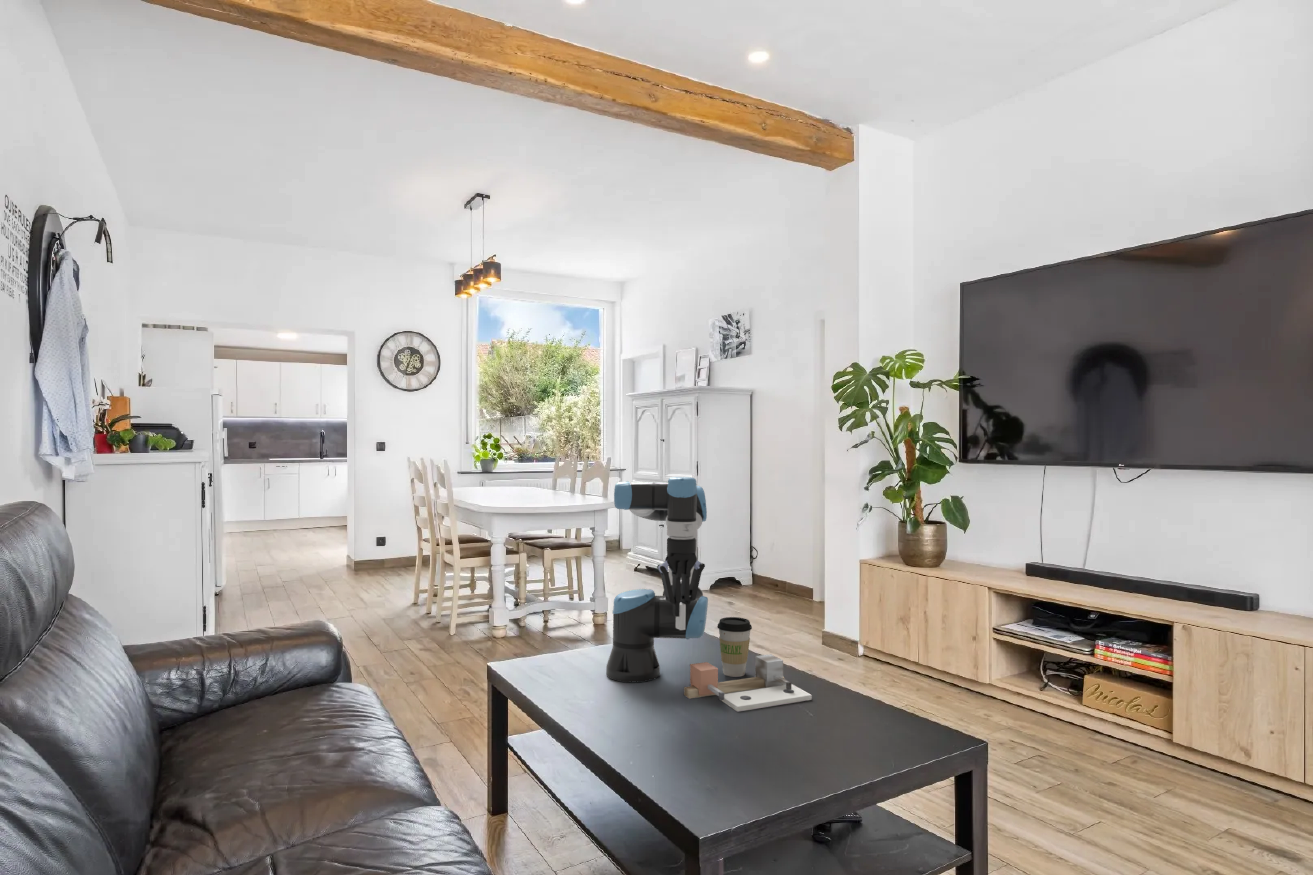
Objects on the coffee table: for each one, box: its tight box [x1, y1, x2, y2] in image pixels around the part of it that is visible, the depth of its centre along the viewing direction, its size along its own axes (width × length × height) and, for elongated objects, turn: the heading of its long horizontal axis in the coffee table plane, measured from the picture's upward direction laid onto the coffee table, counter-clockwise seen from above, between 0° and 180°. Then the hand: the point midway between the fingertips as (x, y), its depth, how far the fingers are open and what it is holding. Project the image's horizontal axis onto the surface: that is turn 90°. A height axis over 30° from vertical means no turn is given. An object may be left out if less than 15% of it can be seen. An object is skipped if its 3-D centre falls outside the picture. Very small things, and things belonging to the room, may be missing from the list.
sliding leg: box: [689, 661, 725, 701], centre depth 192 cm, size 13×5×6 cm, turn 24°
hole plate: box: [720, 684, 813, 712], centre depth 192 cm, size 9×22×1 cm, turn 114°
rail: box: [683, 653, 792, 700], centre depth 196 cm, size 13×29×7 cm, turn 114°
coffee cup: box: [716, 616, 753, 678], centre depth 213 cm, size 10×10×15 cm
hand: (680, 628), depth 193 cm, fingers closed
